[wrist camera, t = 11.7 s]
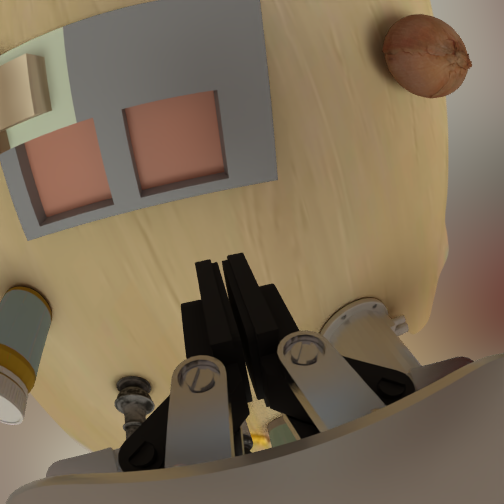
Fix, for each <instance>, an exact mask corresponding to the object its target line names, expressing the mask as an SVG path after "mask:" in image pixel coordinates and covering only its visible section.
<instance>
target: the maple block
mask: <svg viewBox="0 0 504 504" xmlns="http://www.w3.org/2000/svg"><path fill="white" fill-rule="evenodd" d="M49 111H52V107H51V101H50V95H49V89H48V82H47V74H46V66H45V57H42V56H37V55H32V54H27V53H26V54H24V55H21V56H19V57H17V58H15V59H13V60H11V61H9V62H7V63H5V64H3V65H1V66H0V132H1V131H4V130H7V129H9V128H11V127H13V126H15V125H18V124H20V123H22V122H25V121H27V120H29V119H32V118H34V117H37V116H39V115H42V114H44V113H47V112H49Z"/></svg>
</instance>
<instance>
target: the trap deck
mask: <svg viewBox="0 0 504 504" xmlns="http://www.w3.org/2000/svg"><path fill="white" fill-rule="evenodd" d="M26 53H27V54H32V55H37V56H42V57H45V66H46V74H47V82H48V89H49V95H50V101H51V107H52V111H49V112H47V113H44V114H42V115H39V116H37V117H34V118H32V119H29V120H27V121H25V122H22V123H20V124H18V125H15V126H13V127H11V128H9V129H7V130H4V131H1V132H0V162H1V165H2V169H3V172H4V176H5V179H6V182H7V186H8V189H9V192H10V195H11V198H12V201H13V204H14V207H15V209H16V212H17V215H18V218H19V220H20V223H21V225H22V228H23V230H24V233H25V235H26V238H27V240H28V241H29V240H32V239H35V238H39V237H42V236H45V235H48V234H51V233H55V232H58V231H61V230H65V229H68V228H71V227H75V226H78V225H82V224H85V223H89V222H92V221H96V220H100V219H103V218H107V217H111V216H115V215H118V214H122V213H126V212H130V211H134V210H138V209H142V208H146V207H150V206H154V205H158V204H163V203H167V202H171V201H176V200H180V199H184V198H189V197H193V196H198V195H203V194H207V193H212V192H217V191H222V190H227V189H232V188H237V187H242V186H247V185H252V184H258V183H263V182H269V181H274V180H278V176H277V163H276V151H275V139H274V128H273V117H272V106H271V96H270V86H269V76H268V66H267V57H266V48H265V39H264V30H263V22H262V14H261V6H260V0H158V1H152V2H147V3H142V4H138V5H133V6H129V7H125V8H121V9H117V10H113V11H110V12H106V13H103V14H99V15H96V16H93V17H90V18H86V19H83V20H80V21H77V22H75V23H72V24H69V25H66V26H64V27H61V28H58V29H56V30H53V31H51V32H48V33H46V34H44V35H41V36H39V37H37V38H35V39H32V40H30V41H28V42H26V43H24V44H22V45H20V46H18V47H16V48H14V49H12V50H10V51H8V52H6V53H4V54H2V55H0V66H1V65H3V64H5V63H7V62H9V61H11V60H13V59H15V58H17V57H19V56H21V55H24V54H26Z"/></svg>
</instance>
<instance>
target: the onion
mask: <svg viewBox="0 0 504 504" xmlns="http://www.w3.org/2000/svg"><path fill="white" fill-rule="evenodd" d="M382 52H384V55H385V60H386V63H387V66H388V69H389V71H390V73H391V74H392V76H393V77H394V78H395V80H396V81H397V82H398V83H399V84H400V85H401V86H402V87H403V88H405V89H406V90H408V91H409V92H411V93H413V94H415V95H418V96H422V97H426V98H437V97H443V96H446V95H449V94H451V93H452V92H454V91H455V90H456V89H458V88H459V87H460V86H461V84H462V83H463V81H464V79H465V77H466V74H467V71H468V69H469V68H470V67H472V64H471V63H472V62H471V61H470V59H469V54H467V51H466V47H465V45H464V43H463V41H462V39H461V38H460V36H459V35H458V34H457V33H456V32H455V31H454V29H453V28H452V27H451V26H449V25H448V24H446V23H445V22H443V21H442V20H440V19H438V18H435V17H432V16H428V15H423V14H418V15H410V16H407V17H404V18H402V19H401V20H399V21H398V22H396V23H395V24H393V26H392V27H391V28H390V30H389V31H388V33H387V35H386V36H385V40H384V44H383V50H382Z"/></svg>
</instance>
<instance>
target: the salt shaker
mask: <svg viewBox="0 0 504 504" xmlns="http://www.w3.org/2000/svg"><path fill="white" fill-rule="evenodd" d="M117 389H118V390H119V391H120V392H119V394H118V396H117V399H116V400H115V407H116V409H117V410H118V411H120V412H121V413H123V414H124V416H125V424H124V425H123V429H124V430H125V431H126V440H127V439H128V438H129V437H130V436H131V435H132V434H133V433H134V432H135V431H136V429H137V428H138V427H139V426H140V425H141V424H142V423H143V422H144V421H145V420H146V418H145V417H146V415H147V414H149V413H151V412H152V411H153V409H154V403H153V401H152V400H151V397H150V396H149V394H148V393H149V392H150V390H151V386H150V383H149V382H148V381H146V380H145V379H143V378H140V377H135V376H129V377H124V378H122V379H120V380H119V381H118V382H117Z"/></svg>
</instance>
